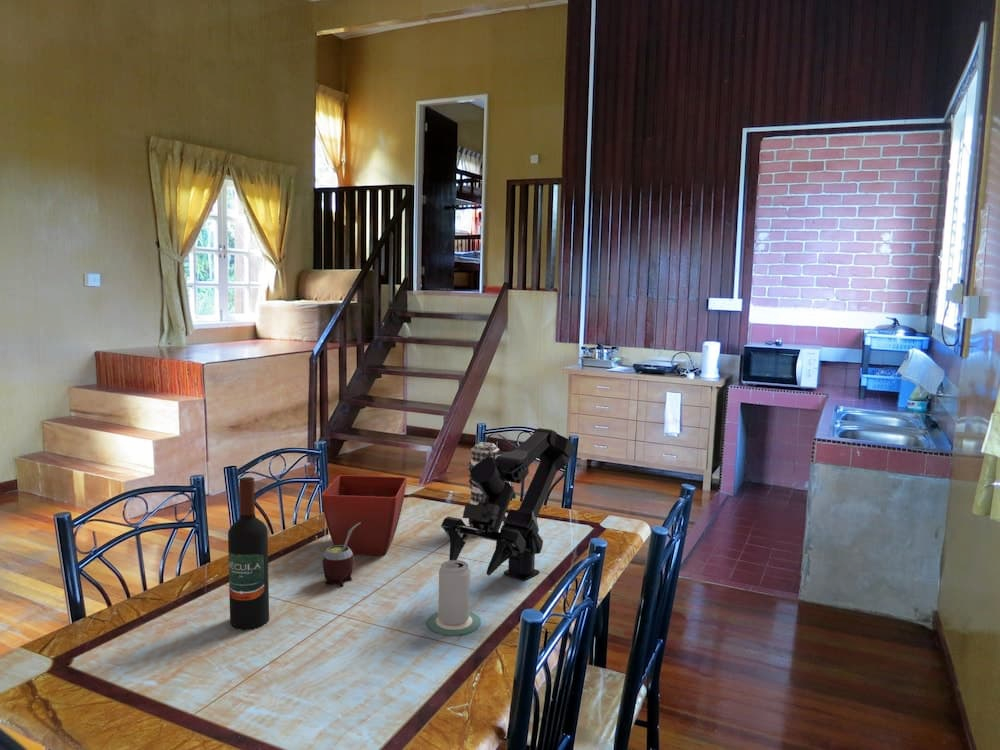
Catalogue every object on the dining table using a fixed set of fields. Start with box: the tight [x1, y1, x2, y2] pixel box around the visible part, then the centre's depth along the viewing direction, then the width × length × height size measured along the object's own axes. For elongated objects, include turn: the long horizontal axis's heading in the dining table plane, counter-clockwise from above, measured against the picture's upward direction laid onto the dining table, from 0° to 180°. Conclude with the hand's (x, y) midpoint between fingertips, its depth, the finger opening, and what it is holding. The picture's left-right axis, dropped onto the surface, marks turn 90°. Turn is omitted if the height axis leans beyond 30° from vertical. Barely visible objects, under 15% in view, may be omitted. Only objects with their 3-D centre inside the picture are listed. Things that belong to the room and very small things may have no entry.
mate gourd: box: [322, 522, 361, 588], centre depth 167 cm, size 8×8×15 cm
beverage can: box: [437, 559, 471, 626], centre depth 148 cm, size 6×6×12 cm
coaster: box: [426, 610, 482, 637], centre depth 148 cm, size 11×11×1 cm
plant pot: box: [320, 474, 407, 556], centre depth 189 cm, size 19×19×17 cm
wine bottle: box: [227, 476, 270, 631], centre depth 145 cm, size 8×8×30 cm
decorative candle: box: [468, 441, 500, 527], centre depth 205 cm, size 9×9×25 cm
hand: (468, 570), depth 152 cm, fingers open, 9 cm apart
